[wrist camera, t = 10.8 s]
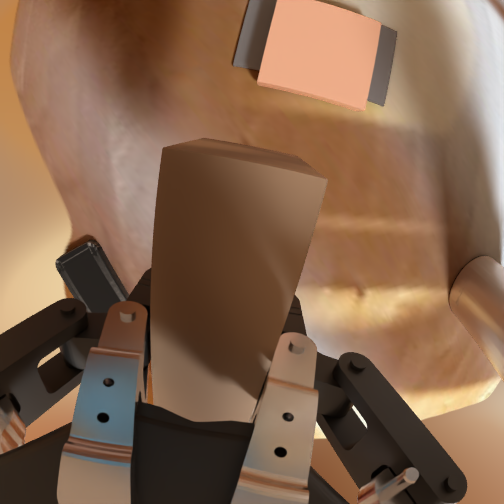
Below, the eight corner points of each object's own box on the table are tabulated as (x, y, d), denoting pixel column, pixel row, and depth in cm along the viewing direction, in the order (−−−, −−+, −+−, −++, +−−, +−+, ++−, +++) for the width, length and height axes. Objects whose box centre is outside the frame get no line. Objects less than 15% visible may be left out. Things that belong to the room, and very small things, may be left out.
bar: (297, 155, 10) (328, 179, 6) (239, 380, 15) (234, 456, 11) (204, 137, 10) (162, 147, 6) (177, 368, 15) (157, 442, 10)
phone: (92, 239, 28) (157, 345, 34) (97, 235, 29) (160, 339, 35) (52, 261, 30) (113, 354, 35) (56, 257, 31) (116, 349, 36)
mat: (395, 32, 19) (397, 31, 19) (382, 106, 22) (383, 106, 22) (253, -9, 18) (252, -11, 18) (233, 66, 22) (232, 65, 21)
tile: (356, 111, 23) (372, 29, 19) (364, 110, 21) (381, 22, 17) (257, 85, 22) (277, 2, 18) (257, 81, 20) (279, -8, 16)
